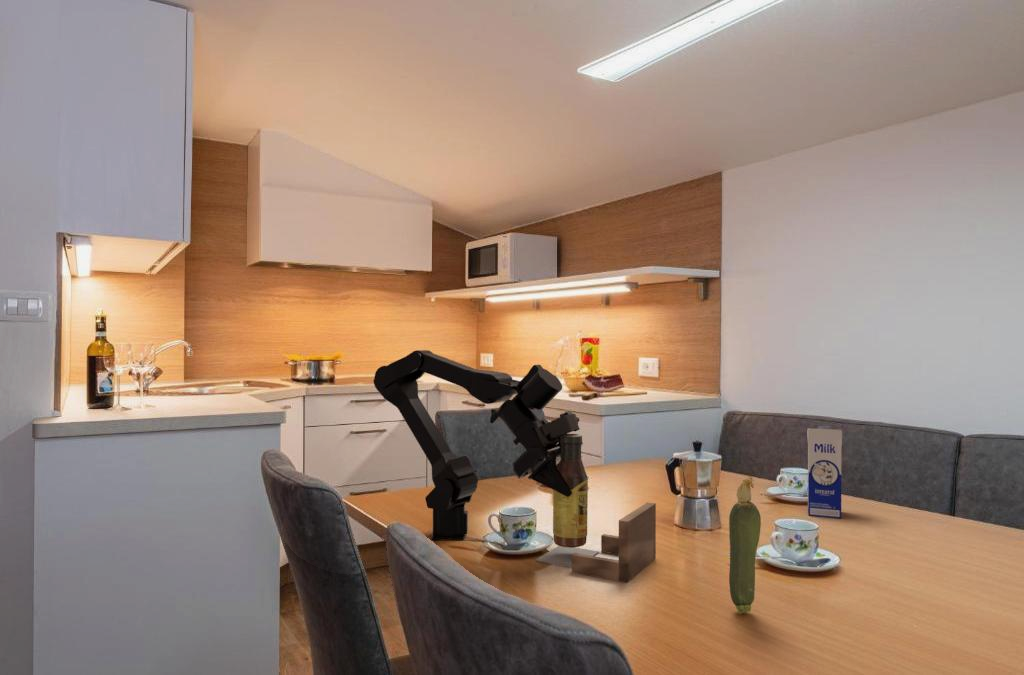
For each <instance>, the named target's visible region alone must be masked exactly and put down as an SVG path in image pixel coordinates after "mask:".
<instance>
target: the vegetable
mask: <svg viewBox="0 0 1024 675" xmlns="http://www.w3.org/2000/svg"><path fill="white" fill-rule="evenodd" d="M753 482H755V481H754V479H753V477H752V476H749V477H746V478H744V479H742V482H741V483H740V485H739V486H738V487H737V490H736V497H737V502H736V503H735V504H734V505H732V508H731V509H730V511H729V512H730V513H729V517H728V518H729V519H728V523H729V524H728V526H729V527H728V529H729V533H728V534H729V550H730V551H729V572H728V574H729V577H728V584H729V594H730V598H731V601H732V603H733V604H734V606H735V609H736V610H737V612H738V615H739V614H740V615H742V614H743V613H748V612H751V609H752V605H753V603H754V600H755V590H756V589H755V587H756V586H755V585H756V584H755V583H756V557H757V556H756V555H757V549H758V545H759V543H760V536H761V535H760V534H761V527H762V525H761V524H762V522H761V513H760V511H759V509H758V508H757V505H755V503H753V502H752V489H754V488H755V487H754V483H753Z"/></svg>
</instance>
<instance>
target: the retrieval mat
mask: <svg viewBox="0 0 1024 675" xmlns="http://www.w3.org/2000/svg"><path fill="white" fill-rule="evenodd" d="M573 553H579V554H584V555H590V556H596V557H597V555H598V554H600V551H597V550H593V549H587V548H581V547H574V548H570V547H561V546H558V545H557V546H556V547H554V548H553V549H551V550H550V551H548V552H546V553H544V554H543V555H541V556H539V557H537V558H536V559H535V562H540V563H545V564H550V565H555V566H561V567H567V568H571V569H572V554H573Z"/></svg>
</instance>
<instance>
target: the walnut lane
mask: <svg viewBox="0 0 1024 675" xmlns="http://www.w3.org/2000/svg"><path fill="white" fill-rule="evenodd" d="M656 507H657V504H656V503H655V502H646V503H644V504H643V505H641V506H639V507H638V508H636V509H635V510H633V511H631V512H630V513H628V514H627V515H625V516H624V517H622V518H620V519H619V520H618V535H612V534H605V533H603V534H602V535H601V536H600V538H601V540H600V545H601V546H600V550H601V552H602V553H609V554H614V555H618V559H613V558H612V559H611V558H607V557H601V556H597V555H596V556H590V555H584V554H579V553H573V554H572V568H571V573H573V574H580V575H586V576H590V577H594V578H602V579H605V580H611V581H617V582H622V583H629V582H631V581H632V580H633V579H634V578H636V577H637V575H639V574H640V573H641V572H642V571H643V570H644V569H645V568H647V567H648V566H649V565H650V564H651V563H653V561H655V559H656V554H657V553H656V548H657V547H656V544H657V542H656V540H657V537H656V536H657V535H656V533H657V532H656V530H657V528H656V527H657V525H656V524H657V522H656V521H657V512H656V511H657V509H656Z"/></svg>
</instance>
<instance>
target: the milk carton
mask: <svg viewBox="0 0 1024 675" xmlns="http://www.w3.org/2000/svg"><path fill="white" fill-rule="evenodd" d="M806 433H807V434H806V435H807V437H806V438H807V514H808V515H807V516H809V517H821V518H831V519H832V518H833V519H842V462H843V461H842V450H843V449H842V447H843V446H842V445H843V429H836V428H835V429H834V428H833V429H832V427H831V426H829V425H818V426H817V428H813V427H812V428H810V427H808V428H807V432H806Z"/></svg>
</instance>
